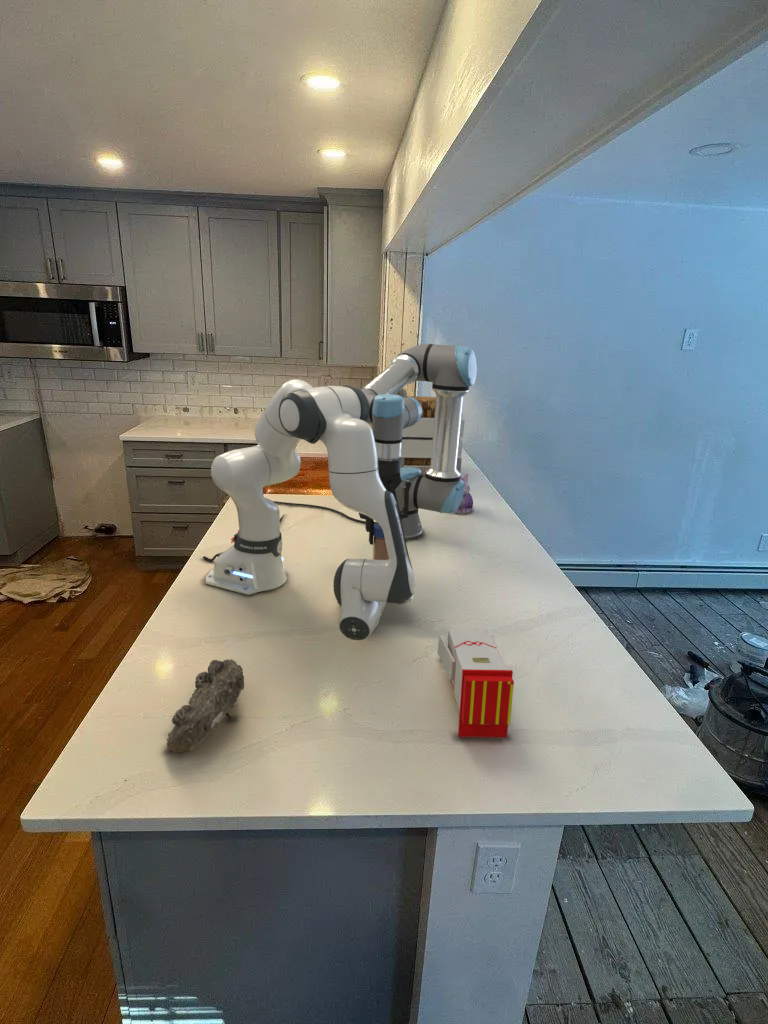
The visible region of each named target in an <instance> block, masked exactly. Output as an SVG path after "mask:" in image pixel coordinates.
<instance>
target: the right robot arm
mask: <svg viewBox="0 0 768 1024" xmlns="http://www.w3.org/2000/svg"><path fill="white" fill-rule="evenodd" d="M477 366H478V365H477V358H476V353H475V351H474V350H473V349H472V348H471V347H469V346H463V345H455V344H454V345H451V344H438V343H437V344H436V343H435V344H434V343H433V344H432V343H421V344H417V345H414V346H412V347H409V348H407V349H405V350H403V351H400V352H399V353H398V354H397V355H395V356H394V357H393V358H392V360H391V361H390V365H389V366H387V367H386V368H384V370H382V371H381V372H380V373H378V375H376V376H375V377H374V378H373V379H371V380H370V381H369V382H368V383H367V384H365V385H364V386H363V387H361V388H359V389H360V390H362V391H363V392H364V394H365V395H366V397H367V399H368V402H369V416H368V419H367V421H366V422H367V423H368V424H369V425H372V431H373V434H374V439H375V444H376V449H377V457H378V471H379V476H380V479H381V482H382V484H383V485H384V487H385V488H386V490H388V491H389V492H391V493H393V495H394V497H395V500H396V503H397V506H398V510H399V514H400V518H401V522H402V527H403V532H404V536H405V541H410V540H415V539H418V538H420V537H421V536H422V535H423V525H422V523H421V518H420V515H419V509H420V510H424V511H430V512H437V513H440V514H449V515H452V514H454V513H455V512H456V510H457V509H458V507H459V505H460V503H461V501H462V498H463V494H464V490H465V483H464V481H462V480H460V475H461V474H460V473H459V472H458V471H457V469H456V465H457V455H458V445H459V435H460V424H461V418H462V417H461V414H462V415H463V403H464V396H465V395H467V393H468V392H469V390H470V387H472V386H474V385H475V383H476V380H477V373H478V367H477ZM414 382H427V383H428V382H429V383H432V385H431V389H432V391H433V392H434V393H435V397H436V405H435V417H434V429H433V441H432V453H431V465H430V466H429V468H427V469H426V470H425V471H424V472H425V473H424V474H422V470H421V468H419V467H416V466H406V467H405V466H404V467H403V468H401V460H400V457H401V449H402V431H403V429H404V428H407V427H410V426H413V425H414V424H415V423H417V422H418V421H419V420H420V418H421V415H422V407H421V405H420V403H419V402H418V401H417V400H416V399H415V398H412V397H402V396H399V395H395V394H396V393H397V392H399V391H400V390H401V389H402V388H403V389H404V387H406V386H407V385H411V384H413V383H414ZM272 501H273V502H274V503H275V504H276V505H277V504H279V505H287V506H299V507H308V508H309V507H310V508H317V509H323V510H327V511H331V512H334V513H337V514H339V515H341V516H343V517H345V518H346V519H349V520H351V521H354V522H357V523H362V524H365V532H367V533H368V543H369V546H370V545H371V546H372V545H374V536H373V534H374V524H376V523H377V522H376V521H375V520H373V519H372V518H370V517H368V516H366V515H364V514H361V513H359V512H358V516H359V519H357V518H354V517H352V516H349V515H347V514H345V513H343V512H342V511H339V510H338V509H337V510H336V509H334V508H330V507H326V506H322V505H316V504H307V503H297V502H296V503H295V502H287V501H285V502H284V501H276V500H272Z"/></svg>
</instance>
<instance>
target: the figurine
mask: <svg viewBox="0 0 768 1024" xmlns="http://www.w3.org/2000/svg"><path fill="white" fill-rule="evenodd" d="M460 480H462V481H464V483H465V490H464V494H463V498H462V501H461V503H460V505H459V507H458V509H457V510H456V512H454V513H455V514H460V515H464V514H469V513H471V512H472V511H473V507H474V499H473V496H472V495H471V493H470V491H471V487H470V484H469V482H468V480H469V473H465V474H464V476H463V477H462V475H461V474H460Z"/></svg>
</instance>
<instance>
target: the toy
mask: <svg viewBox="0 0 768 1024" xmlns="http://www.w3.org/2000/svg"><path fill="white" fill-rule="evenodd" d="M446 640H447V643H446V641H445V639H444V636H443V635H442V634H439V637H438V646H437V656H438V657H439V659H440V661H441V663H442V666H443V668H444V670H445V672H446V674H447V677H448V679H449V681H450V684H451V687H452V690H453V693H454V697H455V701H456V705H457V708H458V711H459V714H458V715H459V716H458V730H457V731H458V732H457V737H458V738H508V731H509V726H510V725H511V717H512V707H513V697H514V696H513V695H514V684H515V680H514V679H513V673H514V671H513V670H512V669H508V667H507V665H506V662H505V661H504V659H503V658H502V655H501V653H500V651H499V649H498V647H497V643H496V639H495V637H494V635H493V634H491V632H490V631H489V629H467V628H466V629H465V628H463V629H461V628H460V629H459V628H448V630H447V639H446Z"/></svg>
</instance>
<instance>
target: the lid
mask: <svg viewBox="0 0 768 1024" xmlns="http://www.w3.org/2000/svg"><path fill="white" fill-rule="evenodd" d="M374 536H375V537H378V538H385V537H384V533H383V530H382V528H381V526H380V525H379V524H378V523H376V524H374V534H373V537H374Z"/></svg>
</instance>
